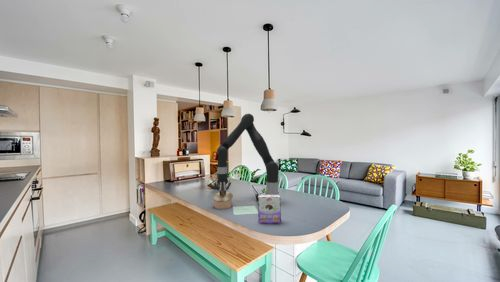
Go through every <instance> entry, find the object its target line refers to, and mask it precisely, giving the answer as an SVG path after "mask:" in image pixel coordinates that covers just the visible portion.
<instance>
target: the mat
mask: <svg viewBox="0 0 500 282" xmlns="http://www.w3.org/2000/svg"><path fill="white" fill-rule="evenodd" d="M232 210H233V211H232V212H233V216H236V215H237V216H238V215H239V216H241V215H255V214H257V215H258V208H257V206H256V205H244V206H240V205H239V206H233V207H232Z"/></svg>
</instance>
